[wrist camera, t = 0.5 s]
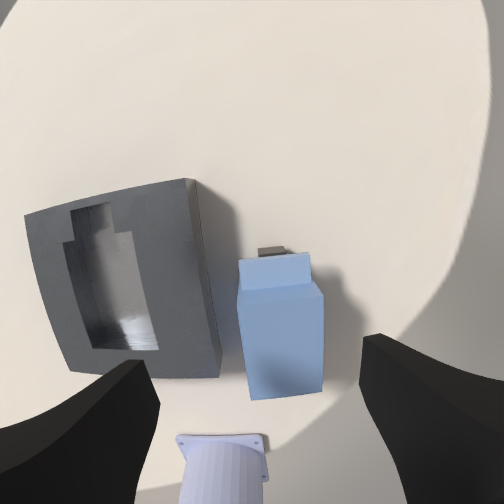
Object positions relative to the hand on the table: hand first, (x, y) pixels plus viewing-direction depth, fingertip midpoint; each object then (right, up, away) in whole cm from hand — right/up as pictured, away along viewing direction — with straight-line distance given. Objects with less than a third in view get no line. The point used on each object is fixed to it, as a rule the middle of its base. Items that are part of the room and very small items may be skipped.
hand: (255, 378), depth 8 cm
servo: (+1, 0, +10) cm, 10 cm away
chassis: (-9, +2, +9) cm, 13 cm away
